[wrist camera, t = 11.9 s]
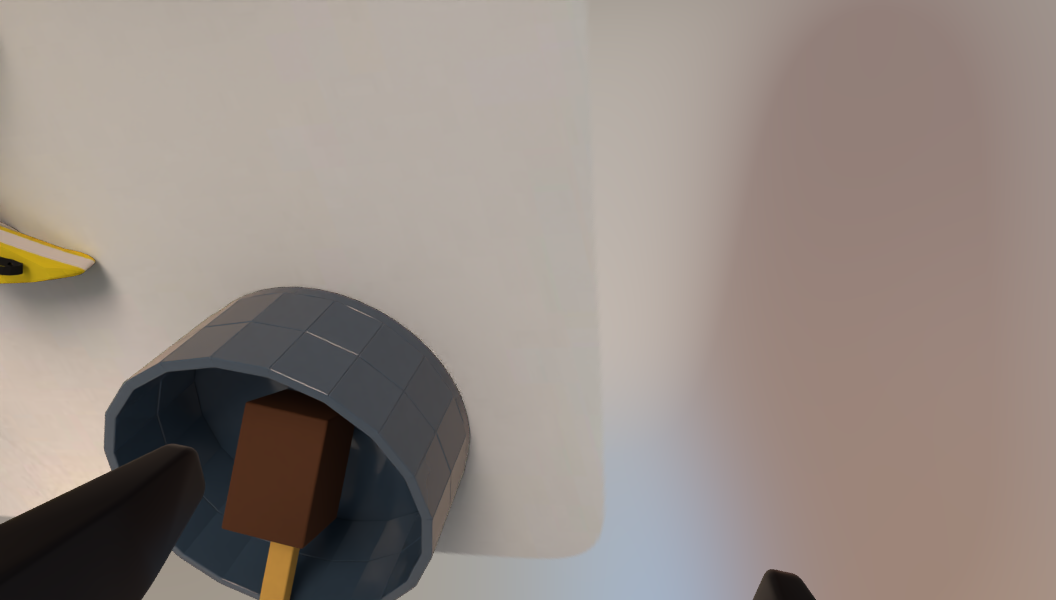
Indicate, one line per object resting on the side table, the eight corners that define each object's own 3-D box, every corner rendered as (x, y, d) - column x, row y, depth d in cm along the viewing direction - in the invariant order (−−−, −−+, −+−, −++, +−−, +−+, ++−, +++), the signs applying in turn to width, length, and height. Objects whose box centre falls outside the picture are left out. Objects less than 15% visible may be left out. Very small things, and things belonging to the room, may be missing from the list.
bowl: (476, 315, 22) (433, 399, 17) (464, 539, 28) (431, 642, 23) (170, 263, 23) (59, 328, 19) (223, 486, 29) (148, 575, 25)
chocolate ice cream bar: (359, 405, 24) (327, 420, 21) (318, 610, 24) (281, 654, 21) (286, 388, 24) (244, 401, 21) (246, 590, 24) (200, 632, 21)
